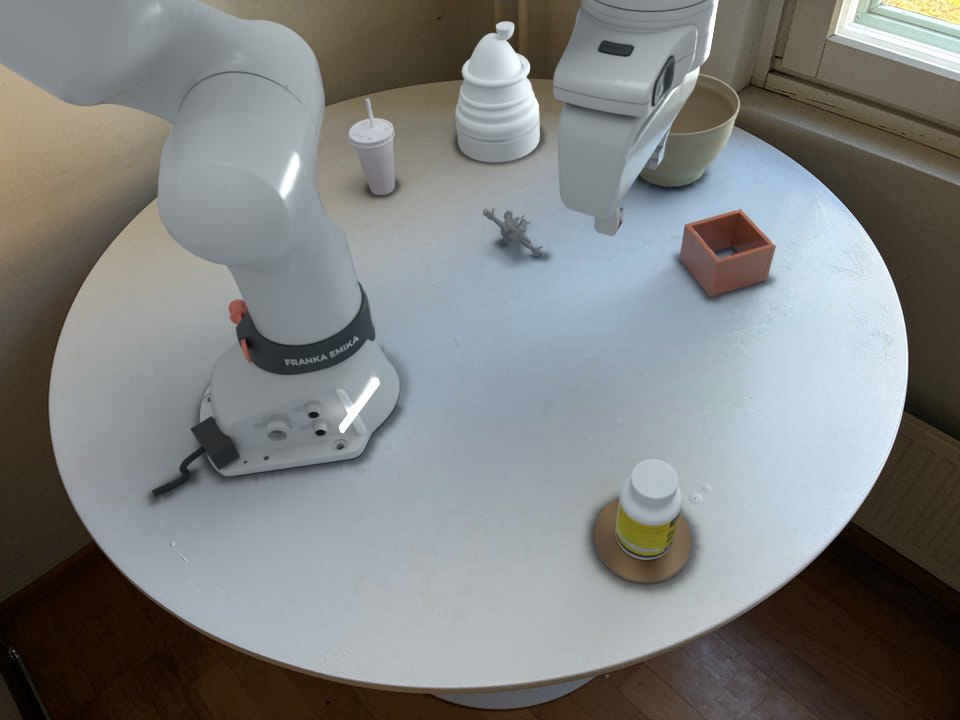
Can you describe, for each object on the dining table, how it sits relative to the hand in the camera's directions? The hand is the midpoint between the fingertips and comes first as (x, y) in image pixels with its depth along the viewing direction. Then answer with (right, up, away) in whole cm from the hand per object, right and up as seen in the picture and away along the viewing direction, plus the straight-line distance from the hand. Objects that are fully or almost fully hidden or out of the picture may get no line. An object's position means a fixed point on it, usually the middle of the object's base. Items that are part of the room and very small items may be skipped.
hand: (629, 195), depth 62 cm
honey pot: (-9, +21, +58) cm, 63 cm away
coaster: (+3, -30, +11) cm, 32 cm away
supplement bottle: (+3, -30, +10) cm, 32 cm away
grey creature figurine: (-8, +2, +41) cm, 42 cm away
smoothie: (-27, +12, +52) cm, 59 cm away
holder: (+18, -2, +34) cm, 39 cm away
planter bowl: (+15, +14, +50) cm, 54 cm away
